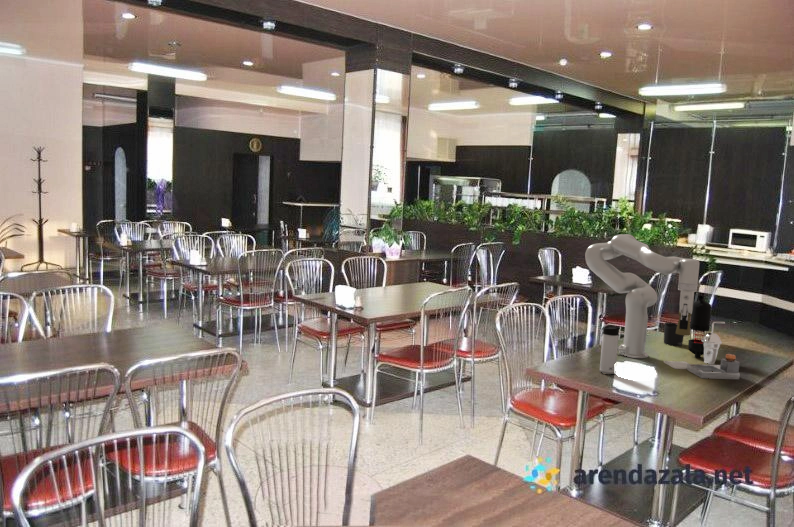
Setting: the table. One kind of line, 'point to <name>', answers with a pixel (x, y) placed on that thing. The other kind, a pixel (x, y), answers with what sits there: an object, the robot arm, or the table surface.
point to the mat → (677, 364)
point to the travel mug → (609, 349)
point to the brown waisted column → (683, 331)
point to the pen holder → (672, 335)
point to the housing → (716, 370)
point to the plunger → (730, 357)
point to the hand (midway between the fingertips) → (683, 327)
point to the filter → (699, 325)
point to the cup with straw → (711, 346)
